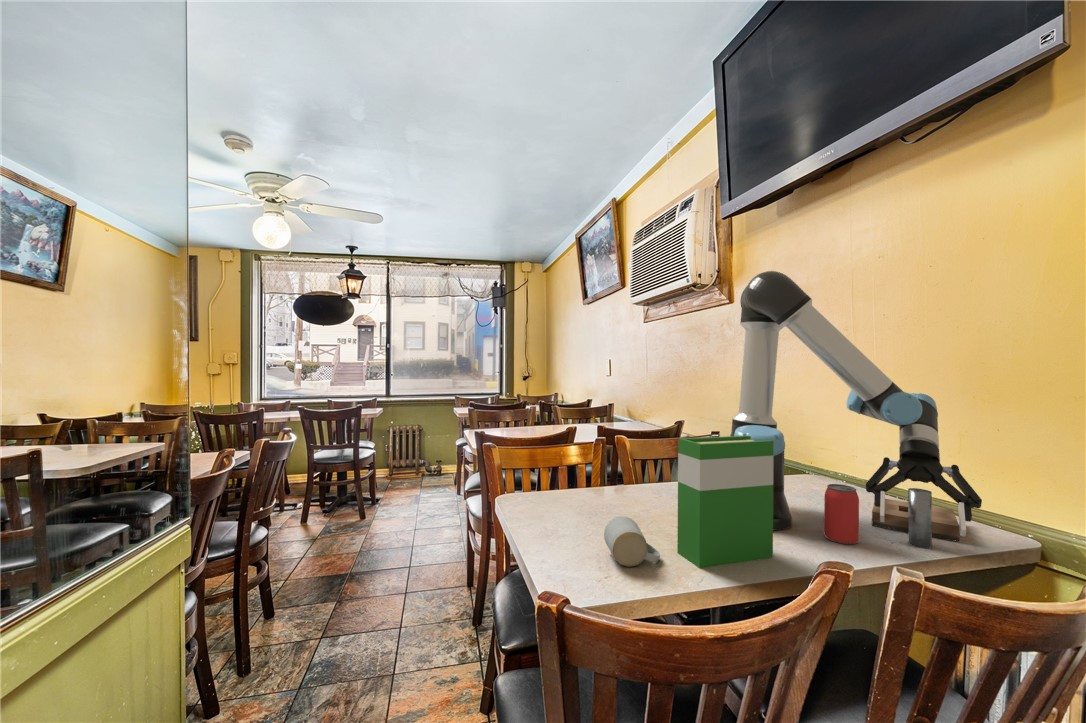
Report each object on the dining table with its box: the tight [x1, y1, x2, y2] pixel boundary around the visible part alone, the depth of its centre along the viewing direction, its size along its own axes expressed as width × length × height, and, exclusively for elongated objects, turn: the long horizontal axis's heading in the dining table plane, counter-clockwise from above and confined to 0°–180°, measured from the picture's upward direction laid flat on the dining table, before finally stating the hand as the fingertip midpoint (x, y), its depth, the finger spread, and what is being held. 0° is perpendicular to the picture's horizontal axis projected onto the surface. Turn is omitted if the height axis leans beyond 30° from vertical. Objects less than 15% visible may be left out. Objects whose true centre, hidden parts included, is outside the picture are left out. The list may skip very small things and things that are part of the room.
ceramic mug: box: [603, 515, 661, 568], centre depth 92 cm, size 11×8×8 cm
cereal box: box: [676, 435, 774, 569], centre depth 94 cm, size 18×7×24 cm, turn 107°
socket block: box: [871, 498, 960, 542], centre depth 114 cm, size 16×16×4 cm
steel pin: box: [907, 487, 933, 549], centre depth 101 cm, size 4×4×12 cm
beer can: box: [823, 483, 860, 545], centre depth 103 cm, size 7×7×12 cm
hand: (920, 525), depth 99 cm, fingers open, 13 cm apart
